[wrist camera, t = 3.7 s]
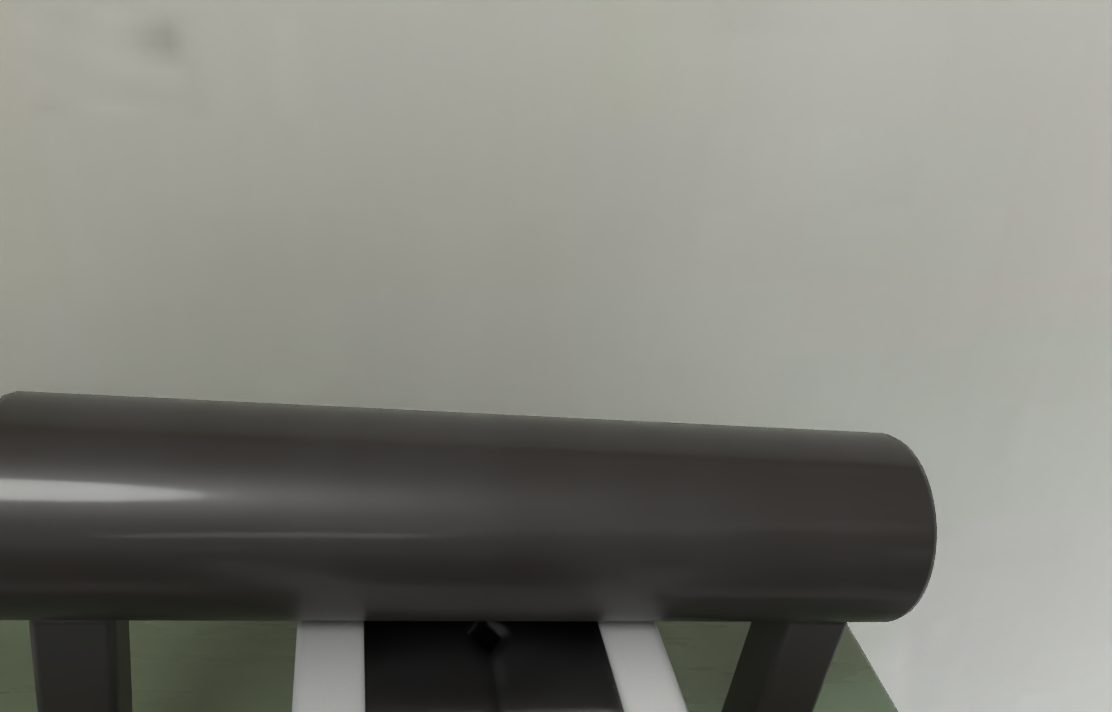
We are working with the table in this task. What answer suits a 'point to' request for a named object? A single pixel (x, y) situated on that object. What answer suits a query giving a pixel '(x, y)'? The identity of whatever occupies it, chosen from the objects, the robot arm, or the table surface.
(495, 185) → the table surface
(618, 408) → the table surface
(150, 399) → the drawer
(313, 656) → the robot arm
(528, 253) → the table surface
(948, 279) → the table surface
